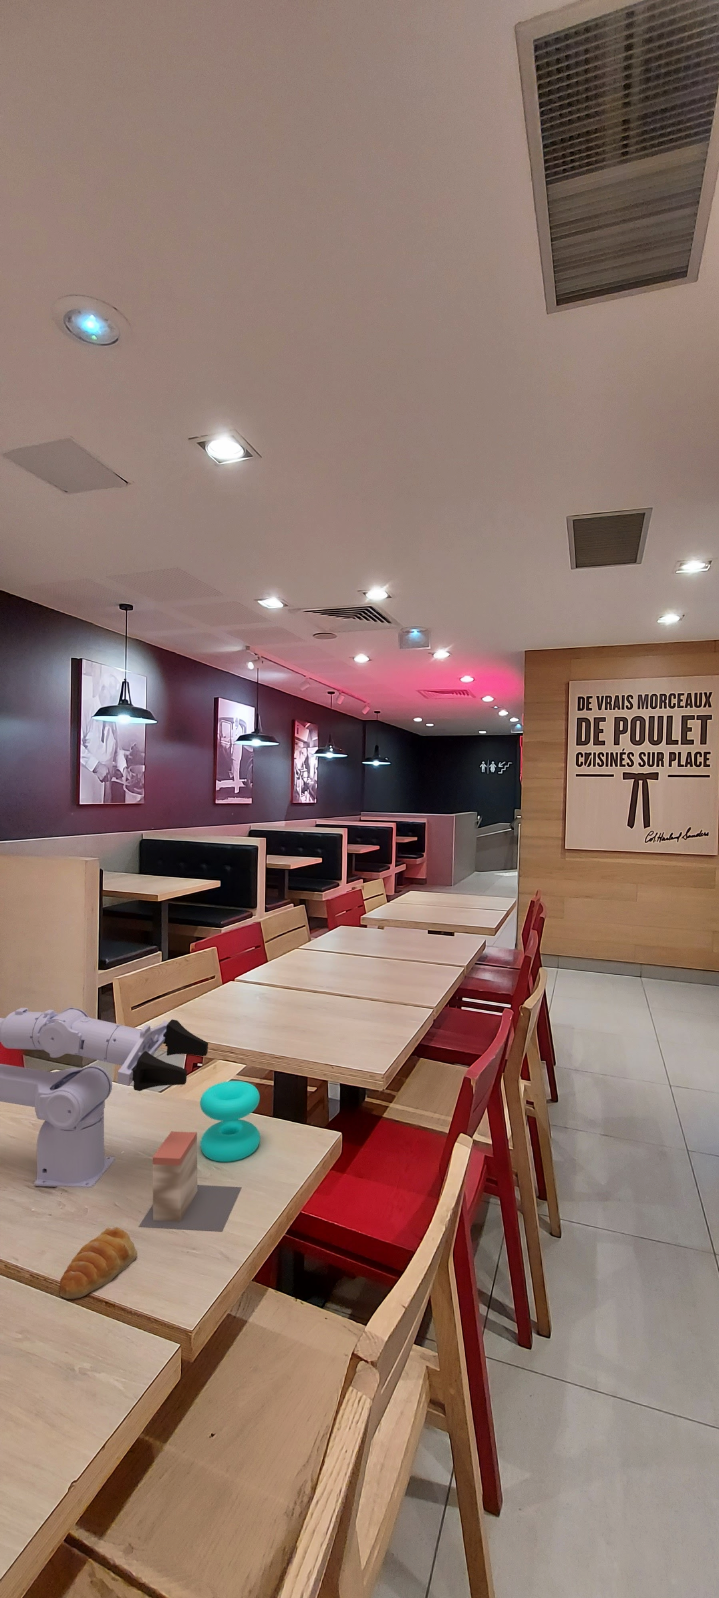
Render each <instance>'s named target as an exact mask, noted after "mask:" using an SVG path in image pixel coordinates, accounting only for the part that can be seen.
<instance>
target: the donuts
mask: <svg viewBox="0 0 719 1598" xmlns="http://www.w3.org/2000/svg"><path fill="white" fill-rule="evenodd" d="M260 1098H261V1097H260V1092H259V1090H258V1089H257V1087H256V1086H255V1085H253V1084H252V1083H249V1082H247V1081H246V1082H245V1081H242V1080H229V1081H223V1082H218V1083H217V1084H214V1085H212V1086H210V1087H208V1088H207V1089H206V1090H205V1091H204V1092H203V1093H202V1094H201V1097H200V1101H199V1107H200V1109H201V1111H202V1113H203V1114H205V1116H207V1117H208V1118H209V1119H212V1120H216V1121H218V1122H217V1123H214V1124H212V1125H211V1126H210V1127H208V1128H207V1129H206V1130H205V1132H204V1133H203V1134H202V1137H201V1140H200V1148H201V1149H200V1150H201V1152H202V1154H203V1155H204V1156H205V1157H207V1158H208V1159H209V1160H211V1161H215V1162H218V1163H219V1162H222V1163H223V1162H224V1163H228V1162H235V1161H240V1160H242V1159H245V1158H247V1157H249V1156H250V1155H252V1154H253V1153H254V1152H255V1151H256V1150H257V1149H258V1147H259V1146H260V1145H259V1144H260V1141H261V1135H260V1134H261V1133H260V1131H259V1129H258V1127H256V1125H254V1124H253V1123H252V1122H251V1121H247V1120H245V1119H243V1118H246V1117H247V1116H249V1115H250V1114H252V1113H253V1112H254V1111H255V1110H256V1109H257V1107H258V1105H259V1103H260Z"/></svg>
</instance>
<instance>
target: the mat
mask: <svg viewBox="0 0 719 1598" xmlns="http://www.w3.org/2000/svg"><path fill="white" fill-rule="evenodd" d="M242 1188H243V1187H242V1186H225V1185H205V1184H203V1185H202V1184H197V1193H196V1194H195V1196H194V1198H193V1200H192V1202H191V1204H190V1205H189V1207H188V1209H187V1211H186V1213H185V1214H184V1216H183V1218H182V1220H181V1222H177V1221H159V1220H153V1204H152V1205H151V1206H150V1208H149V1210H148V1211H147V1213H146V1214H145V1215H144V1217H143V1219H142V1221H141V1222H140V1224H139V1225H138V1228H147V1229H148V1228H150V1229H167V1230H180V1231H181V1230H182V1231H184V1230H185V1231H199V1232H200V1231H201V1232H216V1233H217V1232H218V1233H223V1231H224V1228H225V1227H226V1224H227V1223H228V1220H229V1217H230V1215H231V1214H232V1211H233V1208H234V1206H235V1204H236V1202H237V1199H238V1197H239V1195H240V1192H241V1190H242Z"/></svg>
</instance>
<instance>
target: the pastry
mask: <svg viewBox="0 0 719 1598" xmlns="http://www.w3.org/2000/svg"><path fill="white" fill-rule="evenodd" d="M137 1256H138V1251H137V1248H136V1246H135V1244H134V1242H133V1240H132V1239H131V1237H130V1235H129V1233H128V1232H127V1231H125V1230H124V1229H122V1228H120V1227H117V1226H116V1227H112V1228H109V1227H108V1228H105V1230H104V1231H102V1232H101V1233H100V1234H98V1235H97V1237H95V1238H93V1239H91V1240H90V1241H89V1242H88V1243H85V1244H84V1245H83V1246H82V1247H81V1248H80V1250H79V1251H78V1252H77V1253H76V1254H75V1256H74V1257H73V1259H72V1260H71V1262H70V1263H69V1264H68V1265H67V1268H66V1270H65V1271H64V1273H63V1274H62V1277H60V1280H59V1286H60V1287H59V1288H60V1290H59V1296H60V1297H62V1298H64V1299H65V1300H66V1299H68V1300H75V1299H76V1300H77V1299H80V1298H83V1297H85V1296H87V1295H88V1294H90V1293H92V1292H94V1291H96V1290H98V1289H100V1288H101V1287H104V1286H106V1285H107V1284H108V1283H110V1282H111V1281H112V1280H113V1279H115V1277H116V1276H117V1275H119V1274H120V1273H121V1272H123V1271H124V1270H126V1269H127V1268H128V1266H129V1265H130V1264H132V1263H133V1262H134V1261H135V1260H136V1259H137Z"/></svg>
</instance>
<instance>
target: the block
mask: <svg viewBox="0 0 719 1598" xmlns="http://www.w3.org/2000/svg"><path fill="white" fill-rule="evenodd" d="M197 1185H198V1132H193V1131H170V1132H169V1134H168V1136H167V1137H166V1138H165V1139H164V1141H163V1142H162V1143H161V1144H160V1146H159V1148H158V1149H157V1151H156V1152H155V1153H154V1155H153V1156H152V1205H153V1220H159V1221H177V1222H181V1220H182V1218H183V1216H184V1214H185V1213H186V1211H187V1209H188V1207H189V1205H190V1204H191V1202H192V1200H193V1198H194V1196H195V1194H196V1193H197Z"/></svg>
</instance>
